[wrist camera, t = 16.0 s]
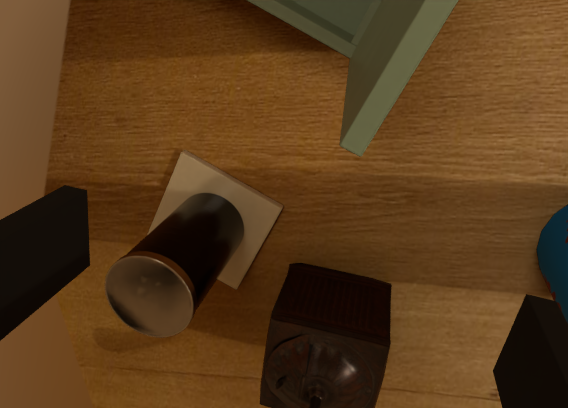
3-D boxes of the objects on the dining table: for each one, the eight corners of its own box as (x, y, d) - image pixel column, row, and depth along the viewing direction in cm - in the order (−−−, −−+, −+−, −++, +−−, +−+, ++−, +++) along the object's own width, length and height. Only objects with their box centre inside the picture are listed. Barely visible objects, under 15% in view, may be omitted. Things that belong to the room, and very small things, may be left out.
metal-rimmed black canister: (167, 234, 48) (93, 307, 36) (192, 178, 45) (119, 238, 33) (228, 268, 48) (173, 353, 36) (257, 215, 45) (207, 288, 33)
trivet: (148, 235, 50) (145, 238, 49) (184, 149, 45) (181, 151, 44) (238, 286, 50) (236, 290, 49) (284, 205, 45) (282, 208, 44)
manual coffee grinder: (284, 258, 47) (224, 390, 31) (394, 281, 45) (392, 434, 29) (269, 374, 53) (213, 533, 37) (365, 398, 52) (350, 577, 36)
